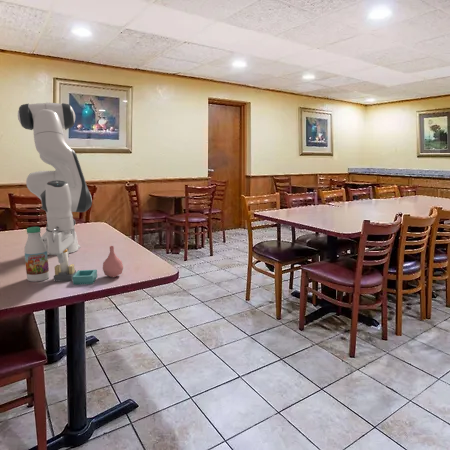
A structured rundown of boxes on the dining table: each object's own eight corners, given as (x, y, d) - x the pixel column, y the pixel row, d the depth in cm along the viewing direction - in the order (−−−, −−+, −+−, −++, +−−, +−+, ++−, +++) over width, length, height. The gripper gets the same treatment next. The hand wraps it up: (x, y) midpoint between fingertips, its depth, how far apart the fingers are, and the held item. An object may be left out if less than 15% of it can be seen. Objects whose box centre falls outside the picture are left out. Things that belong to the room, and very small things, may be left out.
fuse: (59, 273, 149) (57, 249, 147) (66, 271, 151) (64, 247, 150) (63, 274, 147) (61, 250, 145) (70, 272, 149) (68, 249, 148)
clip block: (54, 281, 146) (52, 268, 145) (59, 275, 152) (58, 263, 151) (71, 280, 147) (70, 267, 146) (76, 275, 153) (75, 262, 152)
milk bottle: (24, 278, 149) (18, 227, 145) (45, 274, 154) (40, 224, 151) (31, 283, 144) (25, 230, 140) (52, 278, 149) (47, 227, 145)
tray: (73, 284, 142) (72, 276, 141) (78, 277, 150) (78, 270, 149) (92, 283, 143) (92, 276, 142) (97, 277, 151) (96, 269, 150)
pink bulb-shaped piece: (124, 272, 156) (123, 243, 153) (122, 279, 148) (120, 248, 146) (104, 273, 154) (102, 244, 152) (101, 280, 147) (99, 249, 145)
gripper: (61, 229, 136) (64, 267, 138) (76, 219, 156) (79, 253, 158) (42, 230, 135) (46, 268, 138) (60, 220, 155) (63, 253, 158)
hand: (63, 260), depth 148 cm, fingers open, 4 cm apart
